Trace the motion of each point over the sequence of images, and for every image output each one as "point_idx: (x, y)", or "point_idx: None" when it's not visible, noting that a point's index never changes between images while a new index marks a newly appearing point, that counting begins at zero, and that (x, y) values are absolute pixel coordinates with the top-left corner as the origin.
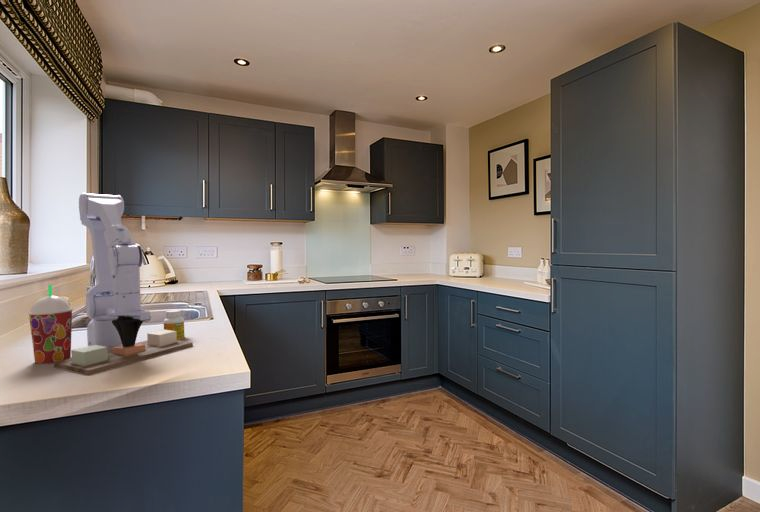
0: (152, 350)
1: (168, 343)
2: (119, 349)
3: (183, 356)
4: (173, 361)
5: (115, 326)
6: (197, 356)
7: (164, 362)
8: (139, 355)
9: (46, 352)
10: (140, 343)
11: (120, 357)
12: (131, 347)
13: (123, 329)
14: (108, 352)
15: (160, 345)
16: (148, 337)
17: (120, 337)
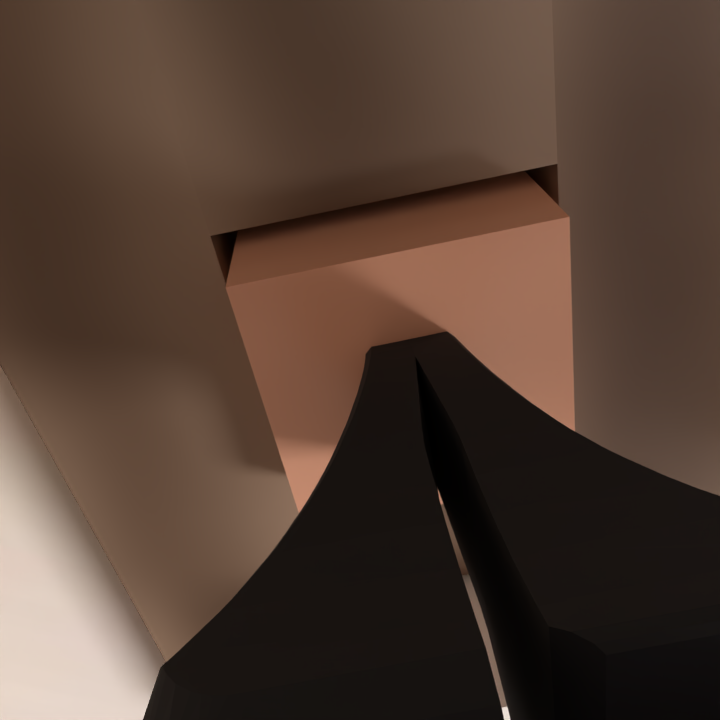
0: (208, 517)
1: None
2: (372, 249)
3: (135, 621)
4: (15, 531)
5: (669, 504)
6: (40, 675)
7: (41, 477)
8: (58, 359)
9: None
10: None
11: (143, 160)
12: (279, 384)
13: (313, 539)
14: (633, 154)
15: None
16: None
17: (498, 391)
